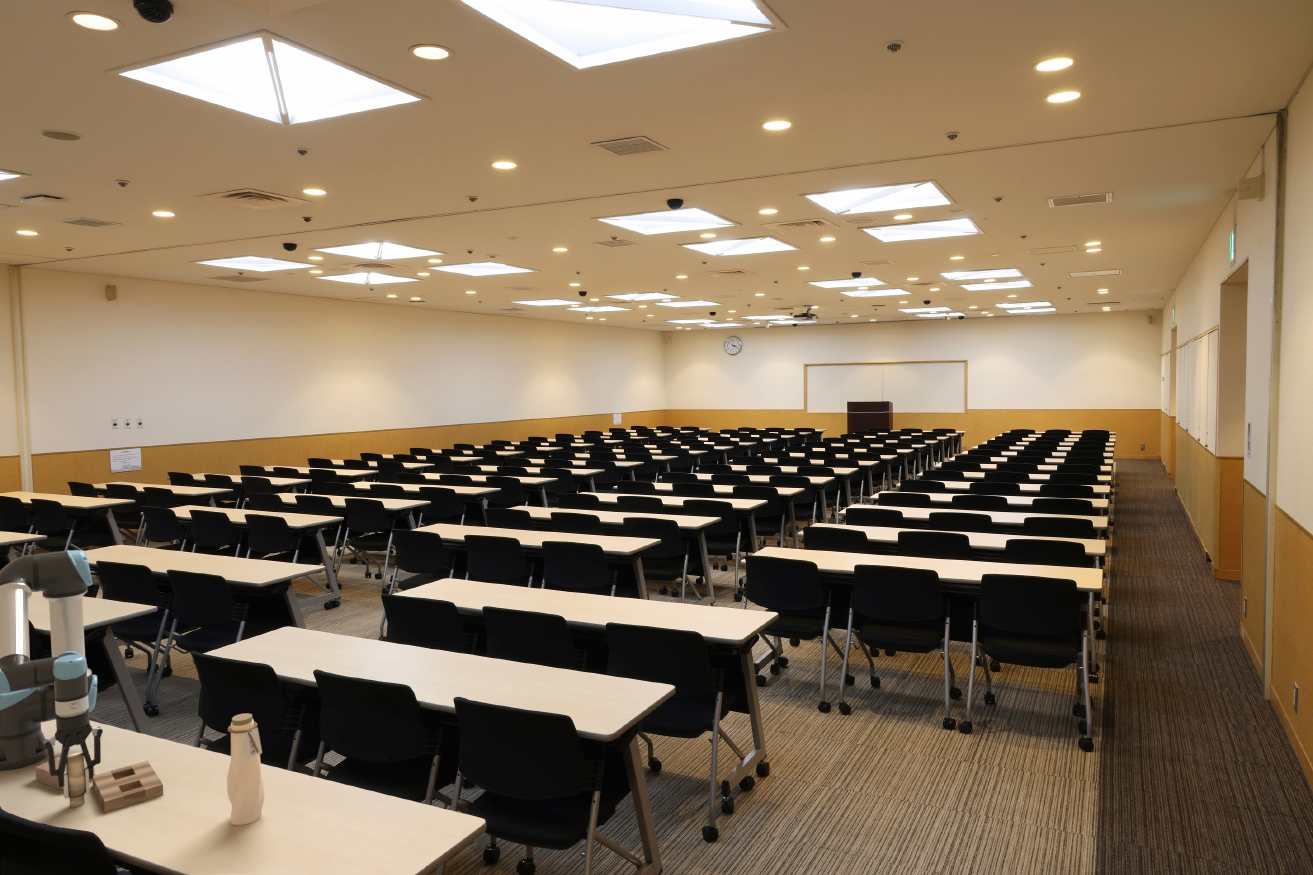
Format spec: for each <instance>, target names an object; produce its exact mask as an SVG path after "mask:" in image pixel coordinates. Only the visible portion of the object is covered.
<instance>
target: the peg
mask: <svg viewBox="0 0 1313 875" xmlns="http://www.w3.org/2000/svg"><path fill="white" fill-rule="evenodd" d="M84 764H85V758H84V754H83V752H73V753H71V754H68V757H67V762H66V766H67V777H68V796H69V798H68V799H69V807H70V808H72V809H73V808H79V807H82V806H83V805H85V803H86V800H85V794H87V793H86V790H85V771H84Z"/></svg>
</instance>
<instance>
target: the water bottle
mask: <svg viewBox="0 0 1313 875" xmlns="http://www.w3.org/2000/svg"><path fill="white" fill-rule="evenodd" d="M230 723H231V724H230V725H229V726H228V728H227V732H228V733H230V763H229V767H228V771H227V778H226V789H227V790H226V791H227V796H228V800H229V802H230V804H231V811H230V819H229V822H230V824H231V825H234V826H243V825H248V824H251V823H254V822H256V821H257V820H259V819H260V818H261V817H262V815H263V814H262V813H263V805H264V801H265V786H264V781H263V780H264V779H263V778H262V766H261V754H263V750H262V744H261V738H260V733H259V728H258V723H257V722H256V721H254V718H253V714H252V713H240V714H236V715H234V716H233V717H232V718H231V722H230Z"/></svg>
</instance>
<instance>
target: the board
mask: <svg viewBox="0 0 1313 875" xmlns="http://www.w3.org/2000/svg"><path fill="white" fill-rule="evenodd" d="M92 780H93V782H92V787H93V789H94V791H95V793H96V795H97V798H98V799H99V801H100V804H101V806H102V808H103V810H104V813H106V812H110V811H113V810H117V809H119V808H123V807H126V806H130V805H133V804H137V803H140V802H143V801H147V800H150V799H153V798H154V799H155V798H156V797H159V796H162V795H164V784H163V783H162V781H161V779H160V778H159V776H158V774H157V773H156V772H155V770H154V768H153V766H152V765H151V764H150V762H149V760H146V761H141V762H137V763H134V764H131V765H127V766H123V767H120V768H115V769H112V770H108V771H105V772H101V773H97V774H95V775H93V778H92Z"/></svg>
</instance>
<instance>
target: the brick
mask: <svg viewBox="0 0 1313 875" xmlns="http://www.w3.org/2000/svg"><path fill="white" fill-rule="evenodd" d="M60 757H61V756H59V757H58V756H57V757H54V758H55V768H56V769H58V767H59V762H60ZM86 766H87V764H86V763H84V767H86ZM95 768H96V767H95V766H94V767H93V775H96V772H95ZM34 769H35V779H36V781H38V782H40V783H43V784H45V785H48V786H51V787H54V788H57V789H60V790H63V791H64V788H63V787H60V786H59V784H58V776H51V775H50V772H49V762H48V761H46V762H43V763H42V764H40V765H37V766H35V768H34ZM65 772H66V773H67V766H66V767H65ZM90 783H93V780H92V779H89V784H90Z"/></svg>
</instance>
